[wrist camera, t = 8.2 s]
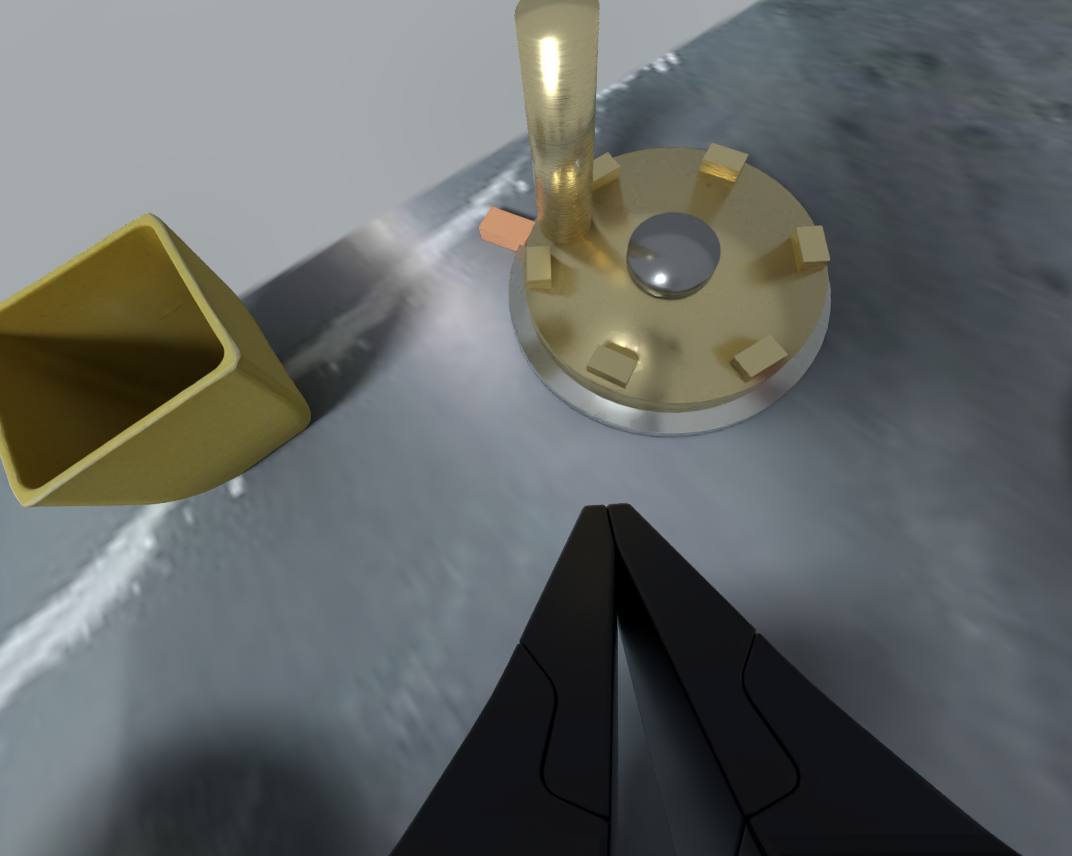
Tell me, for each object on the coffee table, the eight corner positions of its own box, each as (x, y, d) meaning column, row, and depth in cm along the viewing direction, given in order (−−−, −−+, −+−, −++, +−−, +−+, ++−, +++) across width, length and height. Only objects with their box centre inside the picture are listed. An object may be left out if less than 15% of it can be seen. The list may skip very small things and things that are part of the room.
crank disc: (852, 225, 24) (1071, -45, 13) (744, 465, 21) (918, 364, 10) (602, 140, 27) (617, -130, 17) (476, 337, 24) (394, 160, 14)
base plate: (779, 486, 21) (817, 472, 18) (463, 375, 25) (445, 346, 21) (852, 209, 25) (893, 155, 22) (572, 145, 29) (571, 90, 25)
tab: (538, 234, 27) (536, 222, 26) (525, 255, 26) (523, 243, 26) (494, 218, 27) (491, 206, 27) (482, 238, 27) (478, 227, 26)
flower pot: (360, 430, 24) (241, 358, 16) (221, 531, 23) (13, 512, 15) (287, 321, 27) (151, 206, 18) (159, 408, 26) (-50, 330, 17)
